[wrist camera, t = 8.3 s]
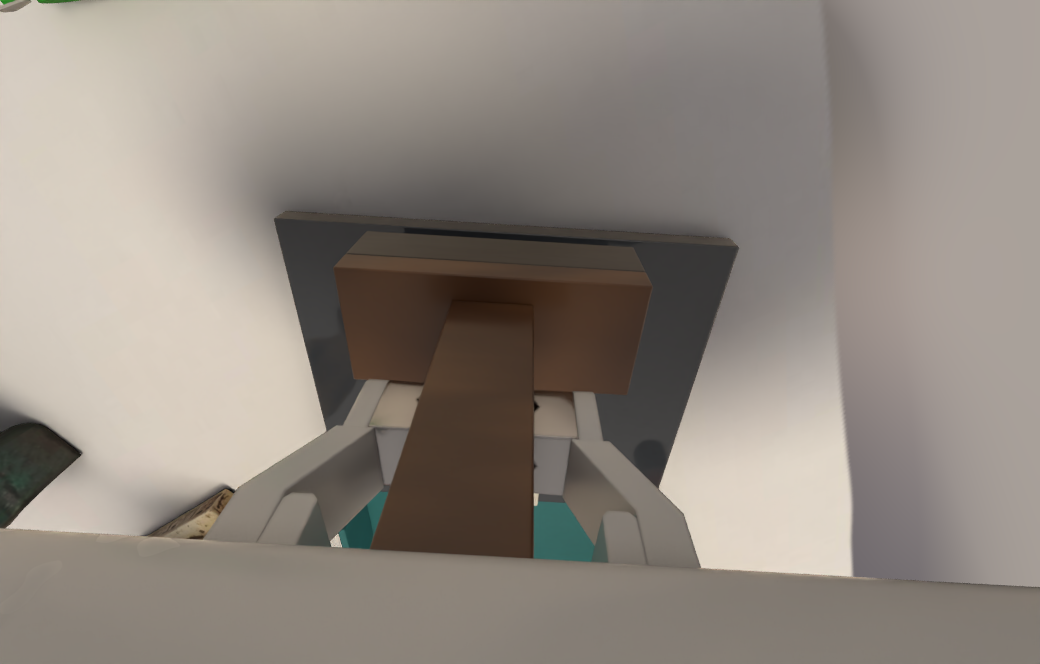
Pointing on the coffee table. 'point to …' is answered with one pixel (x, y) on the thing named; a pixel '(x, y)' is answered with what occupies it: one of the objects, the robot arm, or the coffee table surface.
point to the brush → (483, 368)
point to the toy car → (13, 3)
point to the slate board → (665, 258)
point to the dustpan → (552, 531)
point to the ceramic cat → (29, 466)
